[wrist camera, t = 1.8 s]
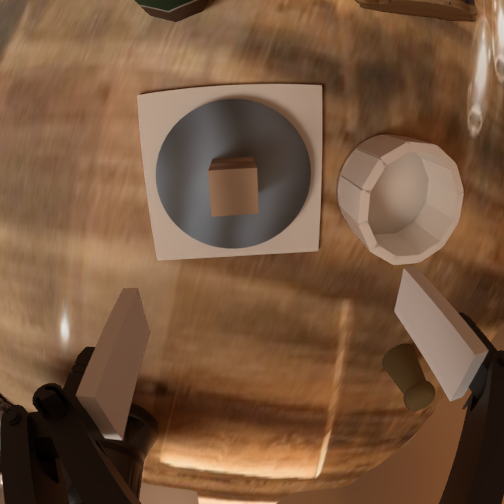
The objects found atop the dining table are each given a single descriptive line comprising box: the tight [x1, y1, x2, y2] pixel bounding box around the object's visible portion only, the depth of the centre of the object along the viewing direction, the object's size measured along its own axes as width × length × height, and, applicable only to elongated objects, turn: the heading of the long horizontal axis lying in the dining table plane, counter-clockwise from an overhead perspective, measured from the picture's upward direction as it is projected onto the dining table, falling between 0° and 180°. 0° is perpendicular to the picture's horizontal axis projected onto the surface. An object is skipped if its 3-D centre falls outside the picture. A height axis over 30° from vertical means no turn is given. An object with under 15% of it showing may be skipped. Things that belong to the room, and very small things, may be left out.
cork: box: [382, 344, 435, 411], centre depth 43 cm, size 6×6×11 cm
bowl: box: [337, 134, 464, 265], centre depth 32 cm, size 13×13×7 cm
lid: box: [156, 99, 311, 249], centre depth 29 cm, size 16×16×7 cm
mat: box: [137, 84, 322, 261], centre depth 33 cm, size 19×19×1 cm
